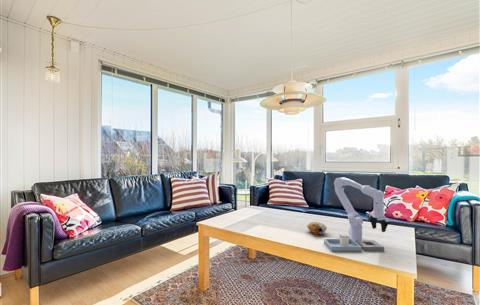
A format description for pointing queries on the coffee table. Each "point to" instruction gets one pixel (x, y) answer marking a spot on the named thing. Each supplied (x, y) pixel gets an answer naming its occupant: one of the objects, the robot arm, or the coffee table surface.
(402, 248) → the coffee table surface
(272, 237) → the coffee table surface
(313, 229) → the nautilus
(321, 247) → the coffee table surface
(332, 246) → the tray
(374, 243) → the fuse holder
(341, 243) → the fuse
